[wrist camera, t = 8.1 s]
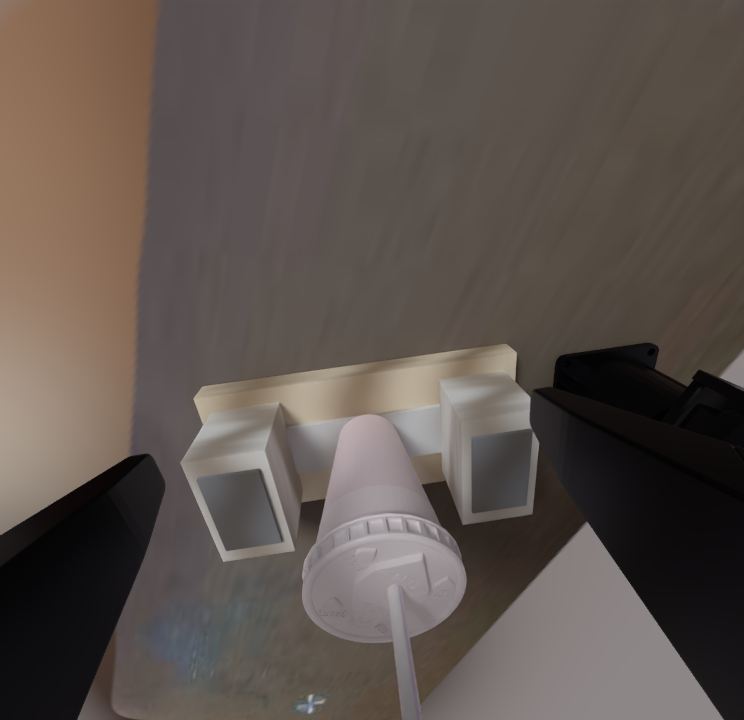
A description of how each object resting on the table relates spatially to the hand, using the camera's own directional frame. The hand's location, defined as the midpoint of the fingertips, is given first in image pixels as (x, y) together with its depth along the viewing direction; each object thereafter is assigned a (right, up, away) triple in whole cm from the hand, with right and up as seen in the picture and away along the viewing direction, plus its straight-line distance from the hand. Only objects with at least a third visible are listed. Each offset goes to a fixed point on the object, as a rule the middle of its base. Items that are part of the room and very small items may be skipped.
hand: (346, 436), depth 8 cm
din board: (0, -3, +16) cm, 16 cm away
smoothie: (0, -3, +14) cm, 14 cm away
